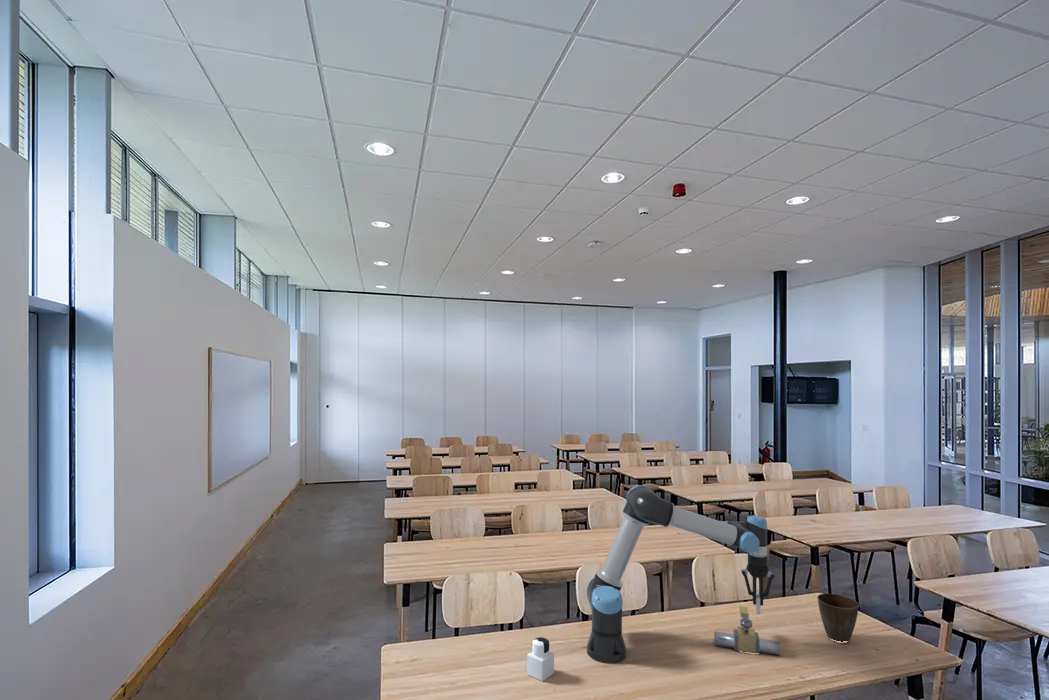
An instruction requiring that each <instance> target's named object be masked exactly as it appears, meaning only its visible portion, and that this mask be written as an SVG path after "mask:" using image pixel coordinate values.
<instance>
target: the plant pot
mask: <svg viewBox="0 0 1049 700" xmlns="http://www.w3.org/2000/svg"><path fill="white" fill-rule="evenodd" d="M817 603H818V608H819V614H820V617H821V621H822V625H823V628H824V630H825V631H824V632H825V633H826V636H827V638H828V637H829V638H831V639H833V640H836V641H841V642H843V641H849V642H850V640H851V638H852V635H853V632H854V629H855V627H856V623H857V619H858V613H859V607H860V604H859V602H858V601H856V600H855V599H853V598H852V597H848V596H846V595H845V596H844V595H841V594H837V593H821V594H819V595H817ZM829 638H828V639H829Z"/></svg>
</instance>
